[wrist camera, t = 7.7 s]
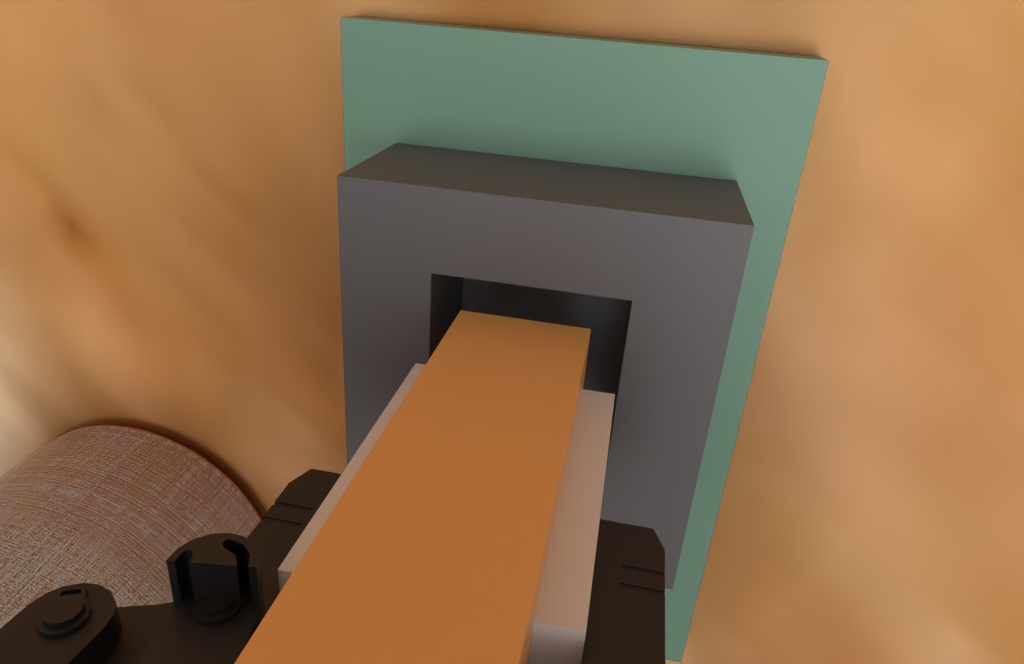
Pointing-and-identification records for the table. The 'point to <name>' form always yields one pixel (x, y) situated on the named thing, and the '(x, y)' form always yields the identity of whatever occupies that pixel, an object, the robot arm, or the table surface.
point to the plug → (443, 511)
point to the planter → (109, 515)
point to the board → (609, 128)
